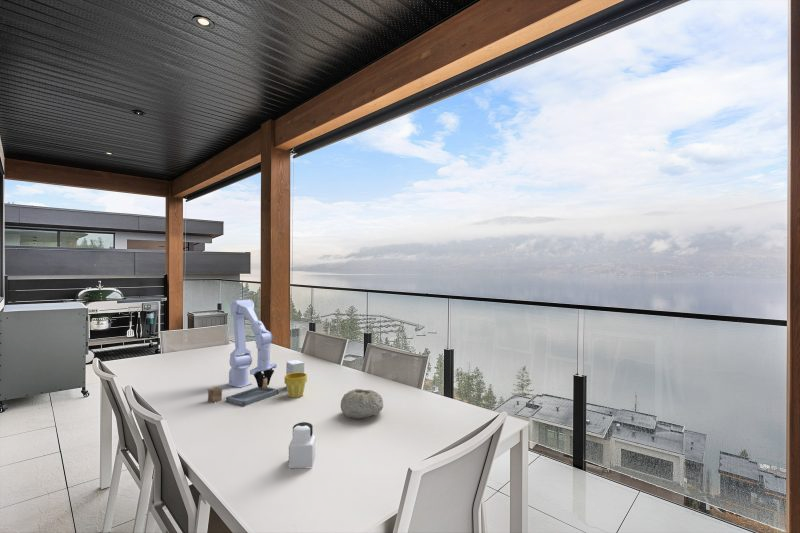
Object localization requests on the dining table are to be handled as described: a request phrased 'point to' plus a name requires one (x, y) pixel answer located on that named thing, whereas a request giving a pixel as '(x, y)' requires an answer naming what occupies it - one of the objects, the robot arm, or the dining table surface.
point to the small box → (294, 367)
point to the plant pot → (295, 384)
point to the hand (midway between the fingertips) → (263, 386)
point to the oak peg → (264, 384)
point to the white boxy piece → (302, 446)
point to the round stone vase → (361, 403)
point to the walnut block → (214, 394)
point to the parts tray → (251, 396)
